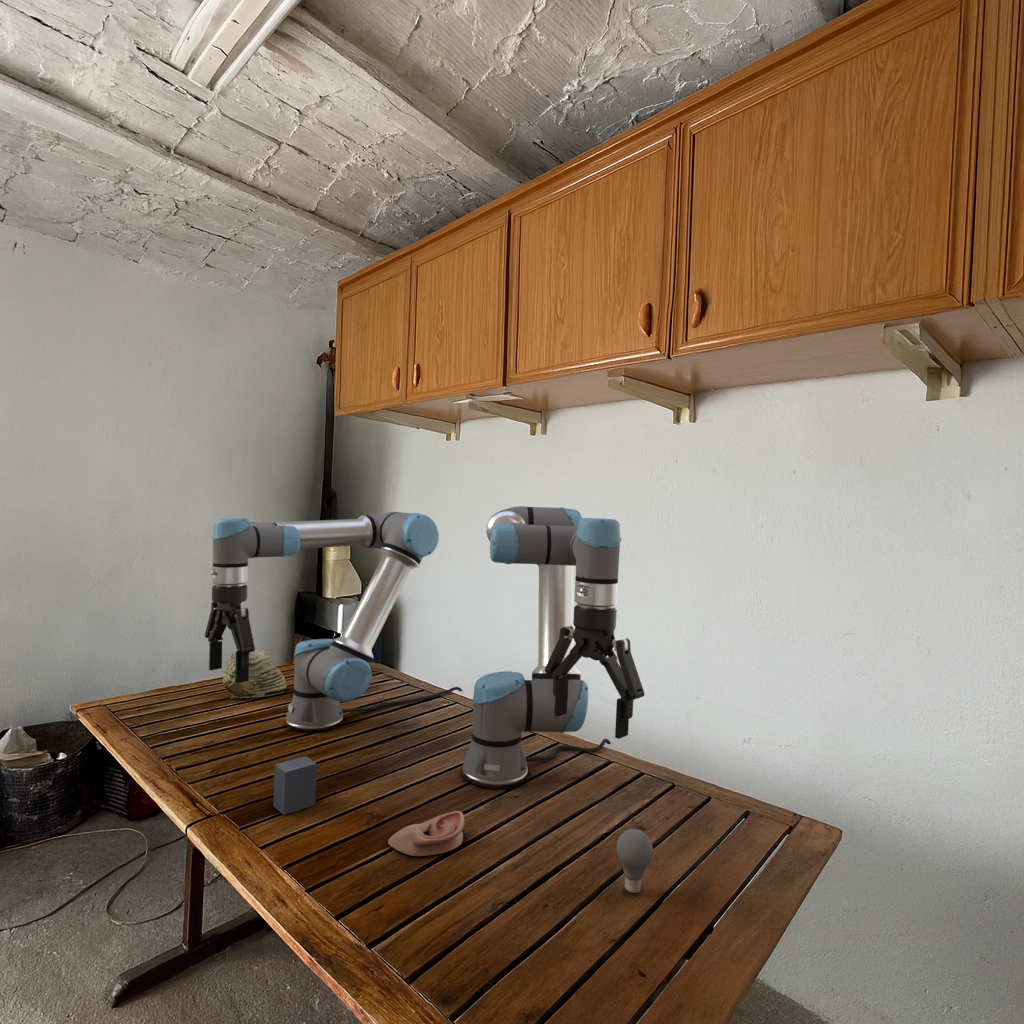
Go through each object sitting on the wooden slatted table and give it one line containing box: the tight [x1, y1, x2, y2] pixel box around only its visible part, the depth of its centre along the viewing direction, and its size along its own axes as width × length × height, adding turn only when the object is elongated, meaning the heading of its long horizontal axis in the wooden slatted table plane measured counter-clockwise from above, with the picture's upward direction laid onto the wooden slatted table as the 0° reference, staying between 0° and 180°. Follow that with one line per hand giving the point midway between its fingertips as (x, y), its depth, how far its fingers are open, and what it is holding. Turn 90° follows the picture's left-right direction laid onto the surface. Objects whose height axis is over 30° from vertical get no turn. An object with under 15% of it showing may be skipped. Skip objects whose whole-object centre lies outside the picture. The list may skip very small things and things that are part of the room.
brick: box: [272, 755, 318, 816], centre depth 130 cm, size 5×7×9 cm
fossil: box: [222, 647, 288, 699], centre depth 198 cm, size 9×18×15 cm, turn 132°
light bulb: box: [615, 828, 654, 894], centre depth 106 cm, size 6×6×10 cm
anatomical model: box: [387, 810, 465, 857], centre depth 118 cm, size 13×4×12 cm
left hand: (228, 675), depth 147 cm, fingers open, 13 cm apart
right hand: (589, 725), depth 112 cm, fingers open, 13 cm apart
